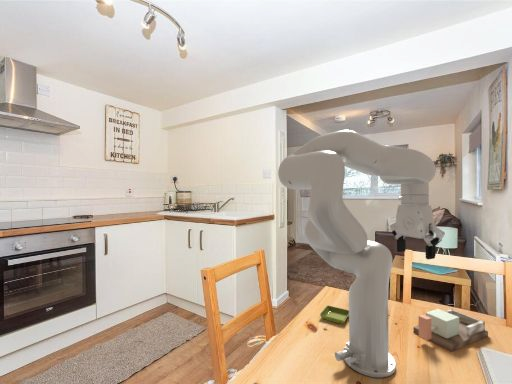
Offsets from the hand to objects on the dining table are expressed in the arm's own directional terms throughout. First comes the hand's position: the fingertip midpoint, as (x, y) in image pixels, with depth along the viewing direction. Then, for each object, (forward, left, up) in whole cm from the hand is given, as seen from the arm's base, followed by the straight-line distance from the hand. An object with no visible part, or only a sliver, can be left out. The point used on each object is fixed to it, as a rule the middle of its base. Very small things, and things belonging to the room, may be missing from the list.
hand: (415, 254), depth 81 cm
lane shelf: (+9, -5, -24) cm, 26 cm away
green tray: (-16, +18, -25) cm, 35 cm away
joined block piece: (+2, -5, -23) cm, 23 cm away
